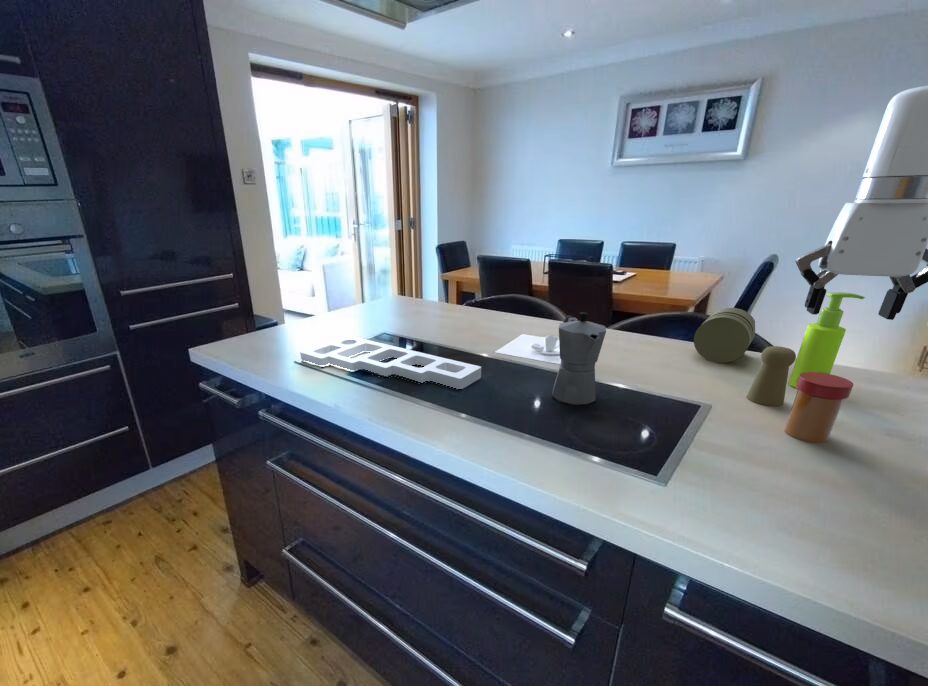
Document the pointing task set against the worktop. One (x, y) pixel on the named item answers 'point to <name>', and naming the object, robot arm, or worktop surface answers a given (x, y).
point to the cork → (772, 376)
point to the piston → (725, 335)
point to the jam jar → (812, 417)
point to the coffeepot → (578, 360)
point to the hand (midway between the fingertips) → (847, 314)
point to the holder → (393, 362)
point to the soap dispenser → (822, 340)
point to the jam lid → (824, 385)
